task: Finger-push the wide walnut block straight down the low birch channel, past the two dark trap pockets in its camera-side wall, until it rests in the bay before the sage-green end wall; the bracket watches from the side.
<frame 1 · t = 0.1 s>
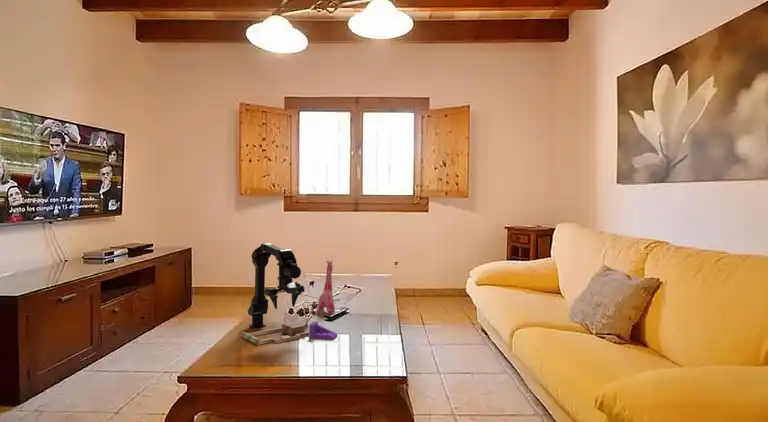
hand: (284, 307, 278), 15 cm above the table, fingers open, 9 cm apart
bracket: (323, 338, 282), on the table
toy: (326, 312, 335), on the table
block: (293, 333, 288), on the table
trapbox: (275, 336, 282), on the table
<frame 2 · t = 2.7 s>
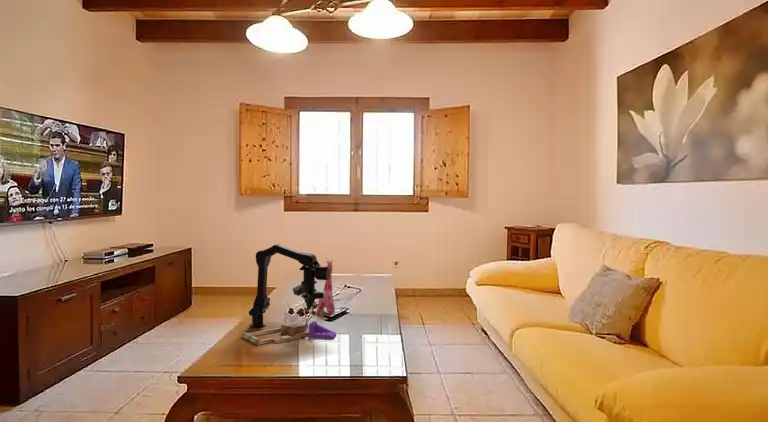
hand: (308, 309, 293), 10 cm above the table, fingers closed
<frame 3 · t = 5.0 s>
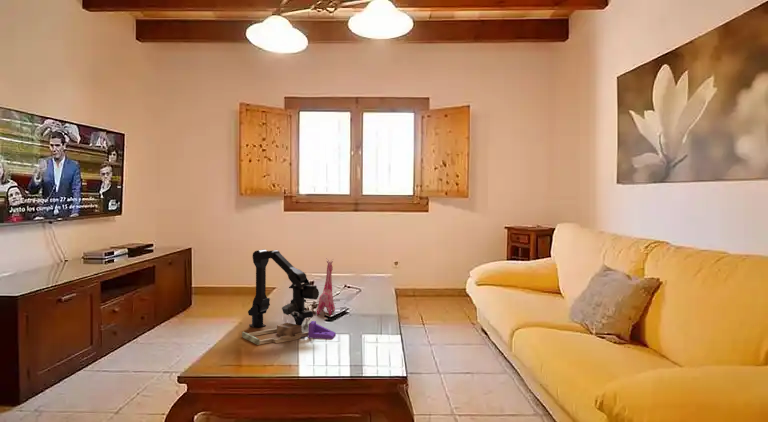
hand: (298, 328, 290), 2 cm above the table, fingers closed
block: (289, 334, 286), on the table, touching gripper
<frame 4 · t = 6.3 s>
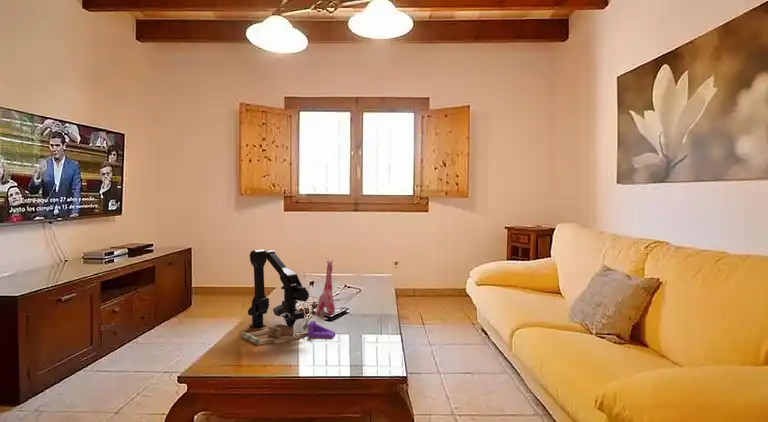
hand: (289, 330, 287), 2 cm above the table, fingers closed
block: (281, 336, 284), on the table, touching gripper
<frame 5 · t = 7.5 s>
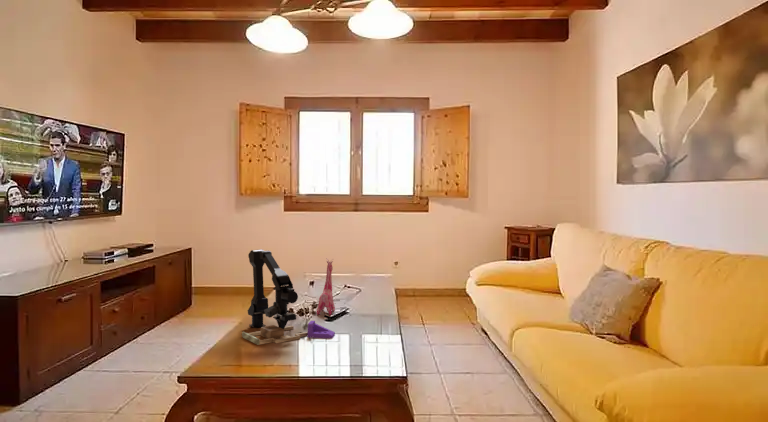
hand: (281, 331, 284), 2 cm above the table, fingers closed
block: (272, 337, 281), on the table
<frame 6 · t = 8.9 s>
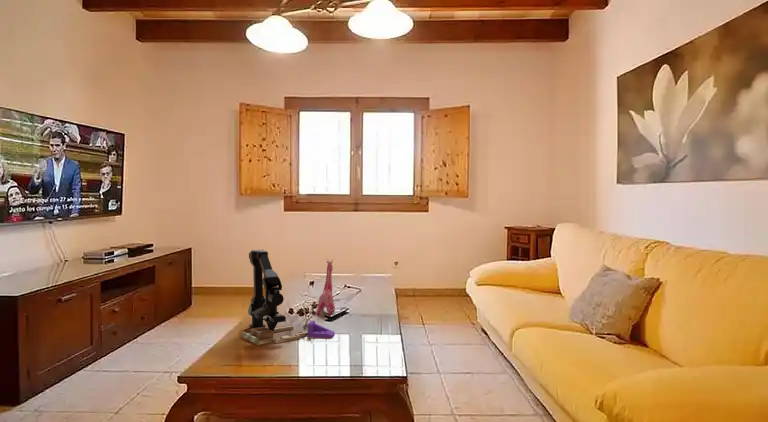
hand: (271, 333, 280), 2 cm above the table, fingers closed
block: (261, 339, 278), on the table
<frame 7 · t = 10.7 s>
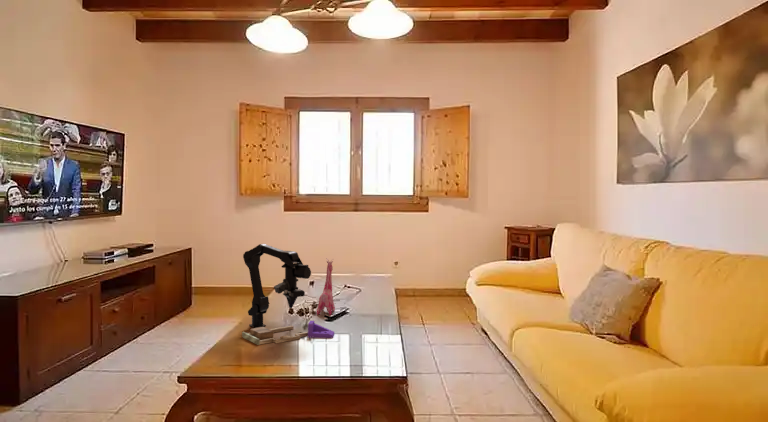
hand: (290, 307, 290), 12 cm above the table, fingers closed
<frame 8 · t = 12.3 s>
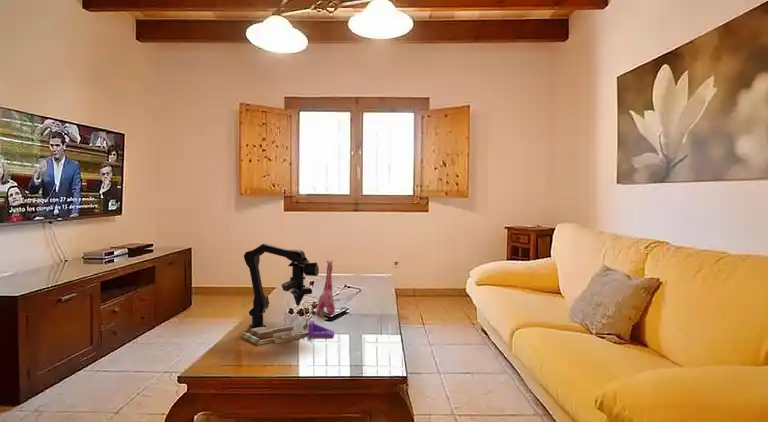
hand: (297, 305, 296), 12 cm above the table, fingers closed
at the end: block inside the target area (0.5 cm from its centre), on the table; block moved 17.2 cm from its start; block tilted 0° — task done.
